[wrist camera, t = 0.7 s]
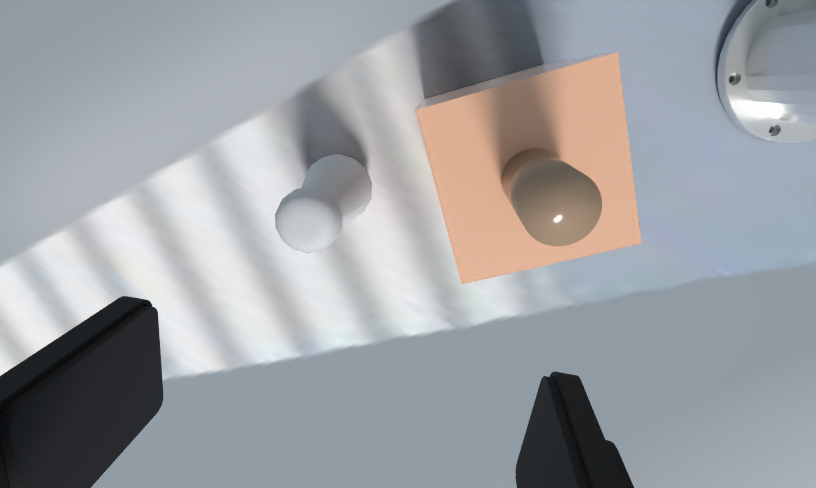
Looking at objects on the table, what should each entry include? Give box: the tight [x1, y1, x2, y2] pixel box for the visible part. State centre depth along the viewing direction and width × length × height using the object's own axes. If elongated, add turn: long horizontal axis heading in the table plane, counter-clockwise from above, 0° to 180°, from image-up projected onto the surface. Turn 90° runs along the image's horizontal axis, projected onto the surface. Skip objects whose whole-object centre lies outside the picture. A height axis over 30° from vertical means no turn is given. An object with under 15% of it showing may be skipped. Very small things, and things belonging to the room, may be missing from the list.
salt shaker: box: [275, 154, 372, 253], centre depth 35 cm, size 6×6×13 cm
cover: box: [416, 52, 641, 284], centre depth 29 cm, size 10×10×22 cm
